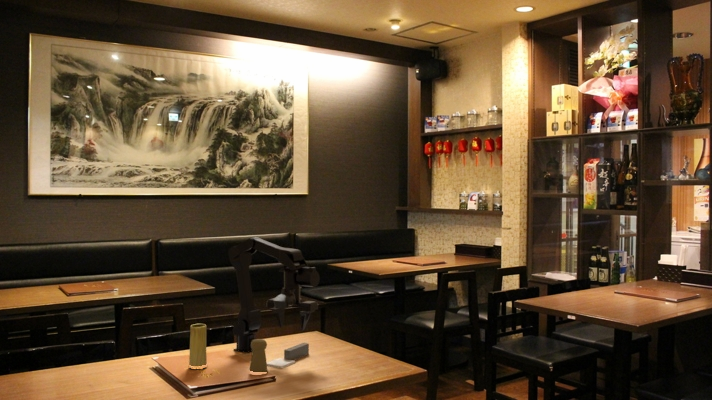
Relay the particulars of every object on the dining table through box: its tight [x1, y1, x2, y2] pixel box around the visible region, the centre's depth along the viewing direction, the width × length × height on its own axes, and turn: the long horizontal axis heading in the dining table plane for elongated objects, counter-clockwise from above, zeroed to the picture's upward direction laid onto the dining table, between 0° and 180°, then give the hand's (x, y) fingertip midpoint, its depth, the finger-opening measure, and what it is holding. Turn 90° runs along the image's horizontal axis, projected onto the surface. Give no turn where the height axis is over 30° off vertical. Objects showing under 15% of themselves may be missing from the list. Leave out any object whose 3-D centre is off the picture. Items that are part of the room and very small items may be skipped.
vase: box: [188, 323, 208, 366], centre depth 201 cm, size 6×6×14 cm
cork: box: [249, 338, 268, 374], centre depth 196 cm, size 6×6×11 cm
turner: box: [266, 342, 310, 369], centre depth 212 cm, size 7×20×4 cm, turn 151°
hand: (292, 328), depth 212 cm, fingers open, 9 cm apart
